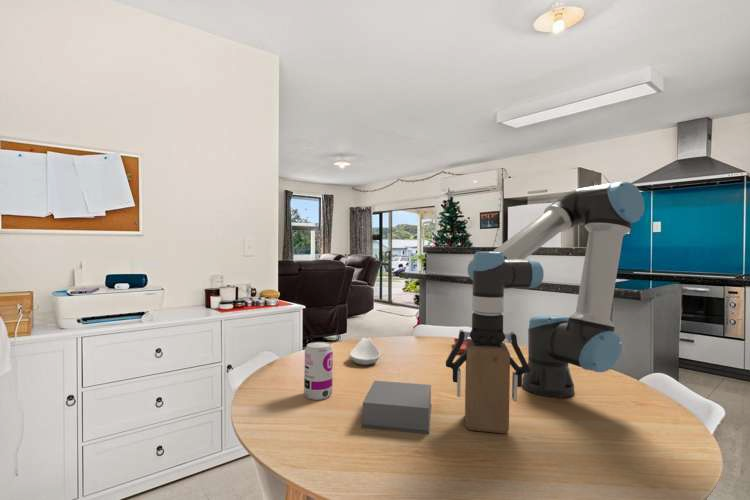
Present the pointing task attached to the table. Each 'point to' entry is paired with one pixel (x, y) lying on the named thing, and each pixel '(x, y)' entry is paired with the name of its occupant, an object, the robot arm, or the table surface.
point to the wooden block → (487, 388)
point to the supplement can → (318, 370)
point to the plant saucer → (463, 347)
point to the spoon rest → (365, 352)
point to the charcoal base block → (398, 407)
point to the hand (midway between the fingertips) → (486, 397)
